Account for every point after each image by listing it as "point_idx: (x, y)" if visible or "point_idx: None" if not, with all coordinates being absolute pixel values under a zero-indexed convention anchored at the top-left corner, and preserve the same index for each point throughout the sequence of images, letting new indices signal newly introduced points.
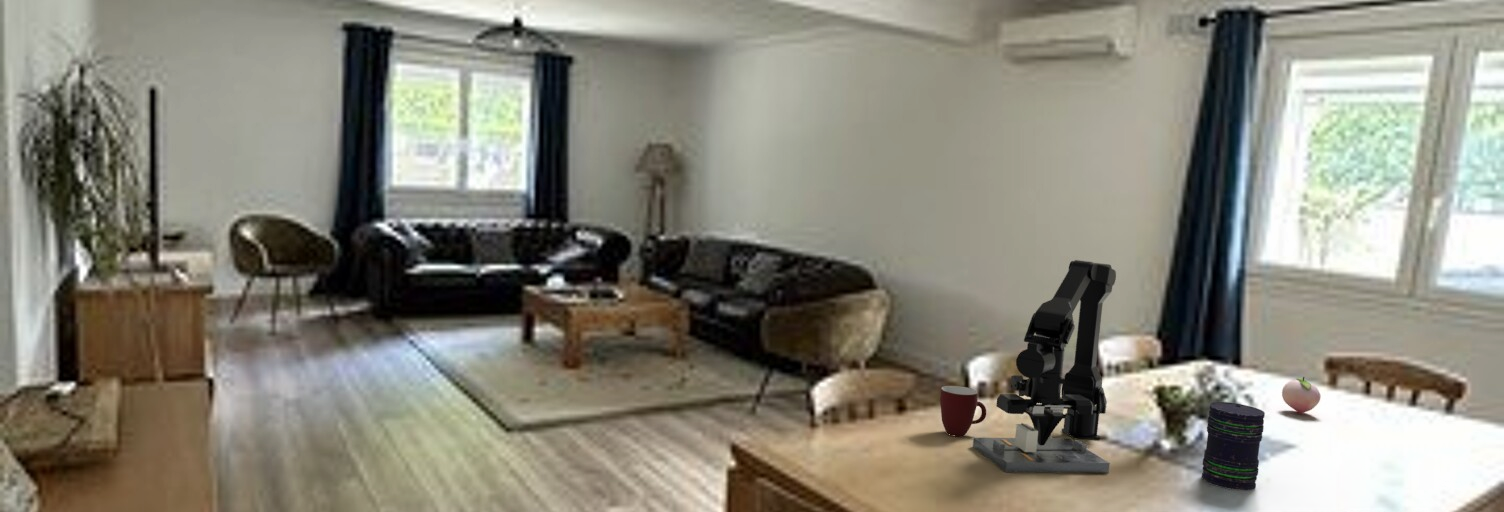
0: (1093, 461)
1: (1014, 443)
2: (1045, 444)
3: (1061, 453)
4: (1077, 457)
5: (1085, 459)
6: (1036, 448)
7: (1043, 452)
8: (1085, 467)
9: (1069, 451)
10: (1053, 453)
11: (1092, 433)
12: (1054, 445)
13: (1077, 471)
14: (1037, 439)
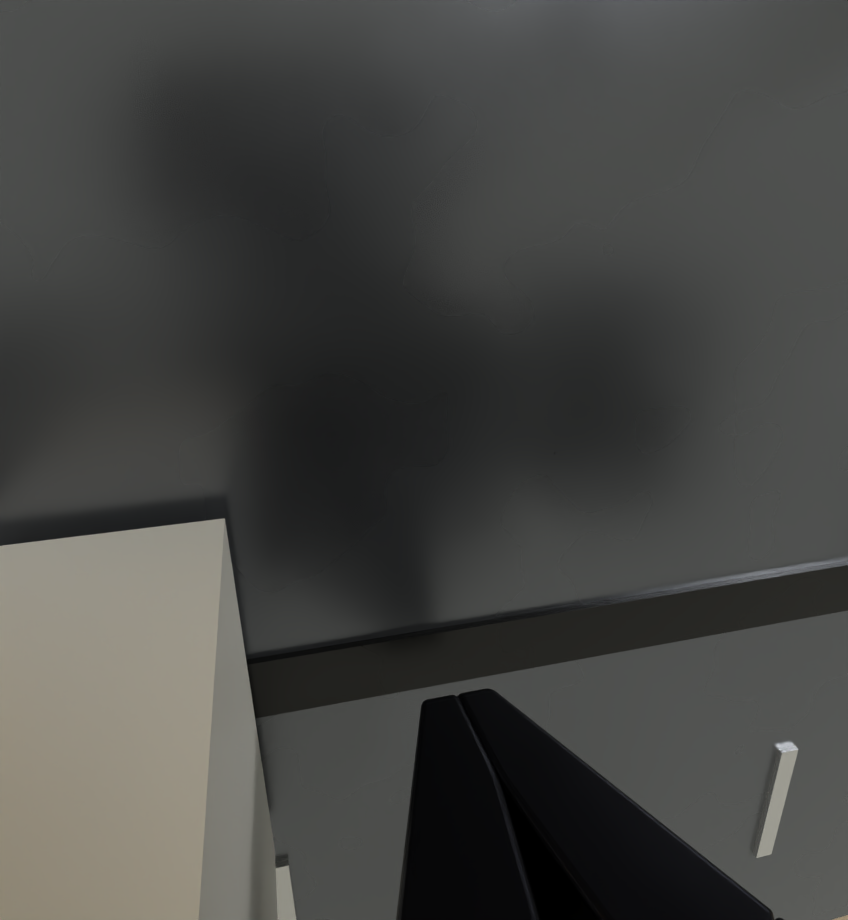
0: (835, 891)
1: (22, 351)
2: (685, 346)
3: (662, 735)
4: (759, 825)
5: (800, 860)
6: (275, 908)
7: None
8: None
9: (823, 637)
10: None
11: None
12: (801, 393)
13: None
14: (414, 775)
